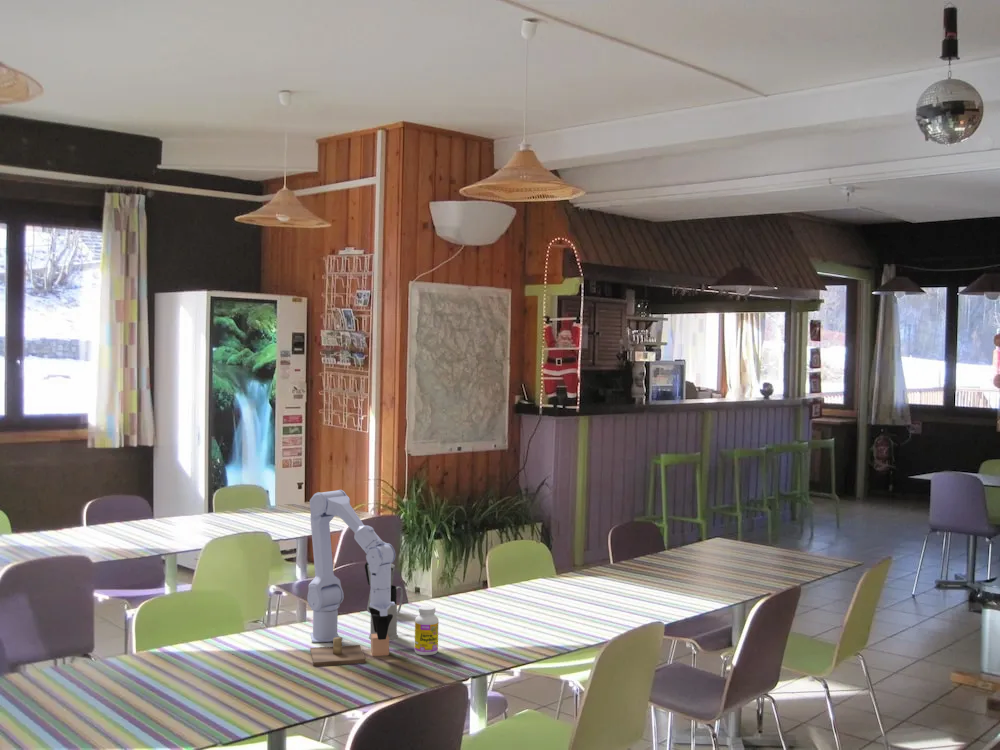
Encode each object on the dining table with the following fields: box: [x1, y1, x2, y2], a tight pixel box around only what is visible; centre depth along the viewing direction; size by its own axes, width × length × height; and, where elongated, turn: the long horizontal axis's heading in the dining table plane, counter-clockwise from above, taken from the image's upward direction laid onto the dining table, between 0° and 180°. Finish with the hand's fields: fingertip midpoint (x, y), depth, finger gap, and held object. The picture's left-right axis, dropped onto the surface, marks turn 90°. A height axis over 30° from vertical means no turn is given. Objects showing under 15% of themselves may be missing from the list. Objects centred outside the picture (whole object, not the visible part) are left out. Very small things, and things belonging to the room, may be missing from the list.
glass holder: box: [368, 584, 404, 642], centre depth 293 cm, size 9×14×15 cm, turn 152°
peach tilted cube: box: [370, 634, 390, 657], centre depth 274 cm, size 5×5×5 cm
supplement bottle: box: [414, 605, 439, 656], centre depth 275 cm, size 7×7×13 cm
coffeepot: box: [364, 561, 396, 614], centre depth 323 cm, size 15×9×18 cm, turn 44°
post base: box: [310, 636, 366, 667], centre depth 270 cm, size 14×14×5 cm
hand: (380, 635), depth 274 cm, fingers open, 7 cm apart
